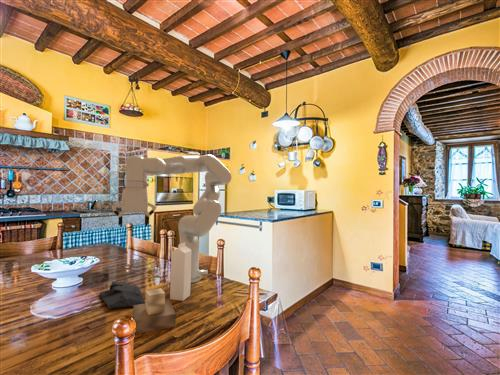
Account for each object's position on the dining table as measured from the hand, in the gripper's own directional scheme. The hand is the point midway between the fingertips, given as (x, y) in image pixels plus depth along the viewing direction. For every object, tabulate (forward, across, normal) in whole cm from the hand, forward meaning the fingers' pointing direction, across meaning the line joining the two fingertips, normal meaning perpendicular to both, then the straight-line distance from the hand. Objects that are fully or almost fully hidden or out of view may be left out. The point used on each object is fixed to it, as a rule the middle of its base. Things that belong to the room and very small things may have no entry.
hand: (133, 226), depth 109 cm
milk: (+28, -18, +11) cm, 35 cm away
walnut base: (+28, -6, +28) cm, 40 cm away
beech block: (+24, -6, +29) cm, 38 cm away
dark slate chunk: (+29, +3, +4) cm, 29 cm away
